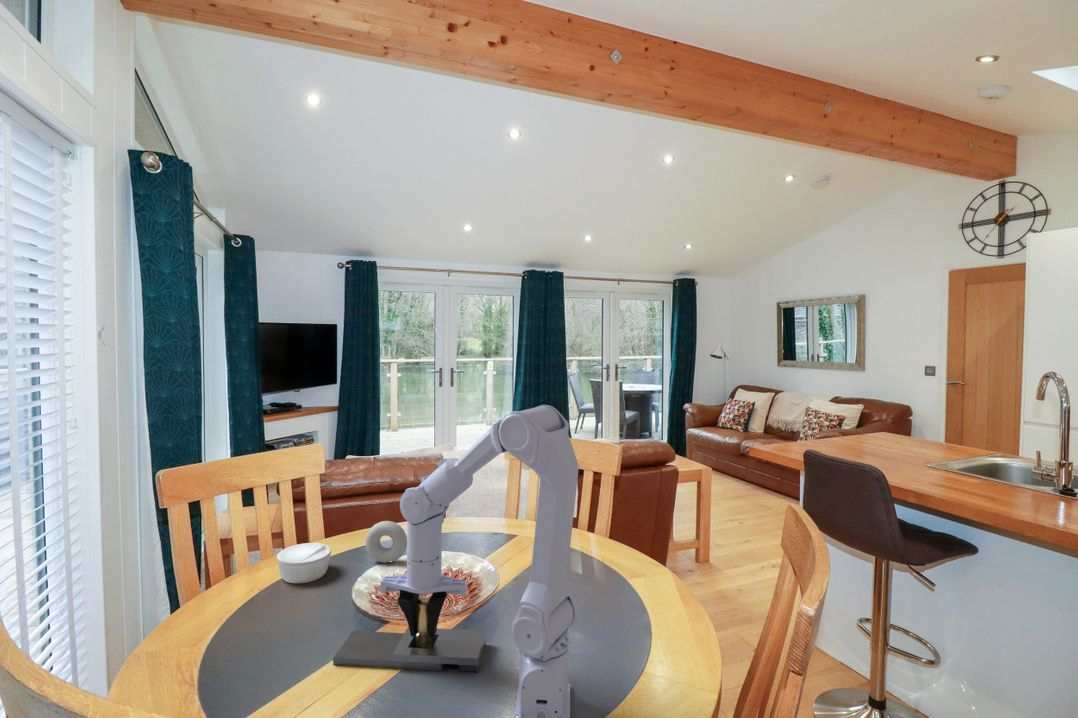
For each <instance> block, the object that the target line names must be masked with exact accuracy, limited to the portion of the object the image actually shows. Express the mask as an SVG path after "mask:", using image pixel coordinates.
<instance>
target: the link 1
mask: <svg viewBox="0 0 1078 718" xmlns="http://www.w3.org/2000/svg"><path fill="white" fill-rule="evenodd" d="M404 633H405V632H403V633H402V632H389V631H388V632H387V631H370V630H369V631H367V630H352V631H351V633H350V635H349V636H348V637H347V639H345V641H344V642H343V644H342V645H341V646H340V648H339V649H338V651H337V652H336V653H335V655H334V656H333V657H332V659H333V660H332V665H333V666H347V667H348V666H352V667H369V668H384V669H385V668H386V669H404V670H422V671H424V670H425V671H440V672H441V671H442V670H443V669H442V668H443V666H444V664H439V663H421V662H403V661H393V652H394V651H395V649H396V647H397V645H398V644H399V642H400V640H401V638H402V637H403V635H404ZM435 642H436V641H432V647H431V649H433V647H434V645H435ZM411 648H416V640H415V641H414V643H413V645H412V647H411Z"/></svg>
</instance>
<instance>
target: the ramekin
mask: <svg viewBox="0 0 1078 718" xmlns="http://www.w3.org/2000/svg"><path fill="white" fill-rule="evenodd" d="M331 555H332V549H331V547H330V545H328V544H326V543H325V544H324V543H321V542H306V543H303V542H302V543H299V544H294V545H290V546H287V547H286V548H283V549H281V550H280V551H279V552H278V553H277V555H276V562H277V563H278V570H279V575H280V578H281V579H282V580H283V581H284V582H286V583H288V584H306V583H310V582H315V581H316V580H318V579H320V578H322V577H324V575H325V574H326V573H327V572H328V571H327V570H328V567H329V562H330V556H331Z"/></svg>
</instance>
